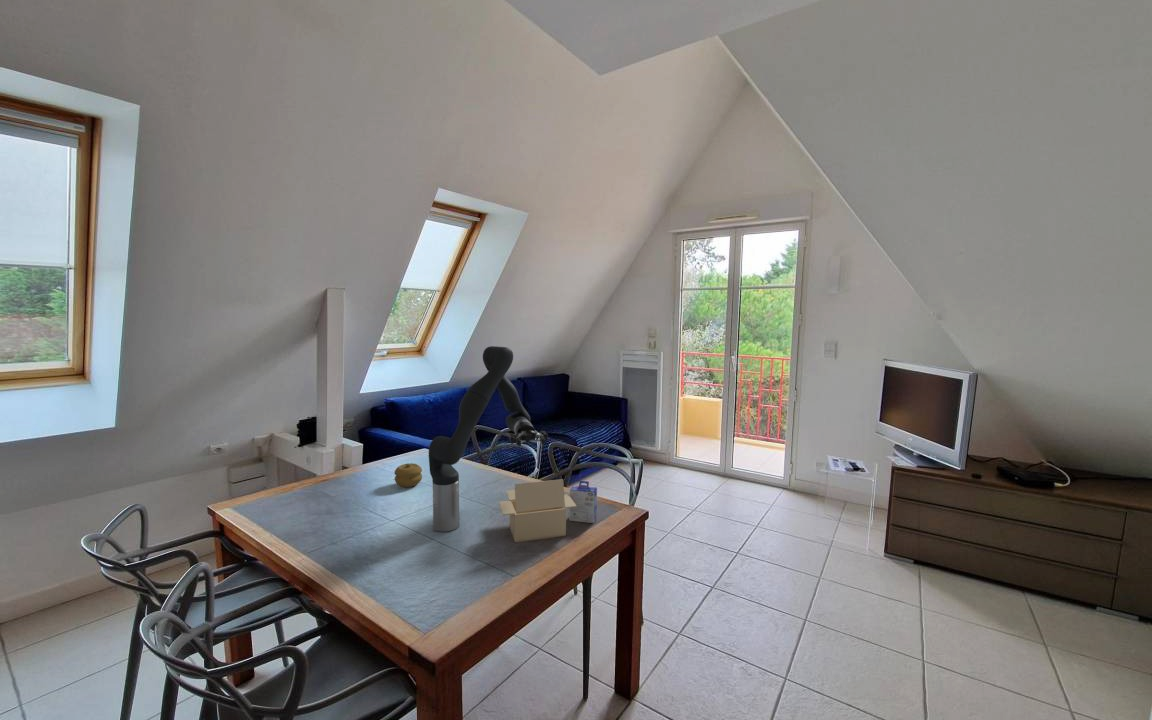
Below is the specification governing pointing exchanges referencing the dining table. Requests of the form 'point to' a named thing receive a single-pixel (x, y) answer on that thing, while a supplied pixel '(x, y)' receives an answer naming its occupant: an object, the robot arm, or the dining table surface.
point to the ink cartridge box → (583, 503)
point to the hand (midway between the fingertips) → (531, 442)
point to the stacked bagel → (408, 475)
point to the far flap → (539, 495)
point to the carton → (535, 520)
